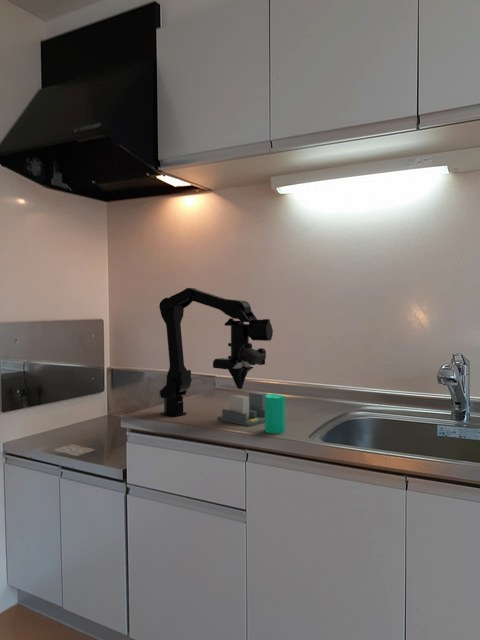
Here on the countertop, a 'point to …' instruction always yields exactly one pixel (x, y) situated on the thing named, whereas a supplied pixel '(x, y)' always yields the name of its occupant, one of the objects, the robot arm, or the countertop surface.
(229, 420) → the rack
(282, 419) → the candle
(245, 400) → the block
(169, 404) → the robot arm
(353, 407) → the countertop surface
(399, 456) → the countertop surface
